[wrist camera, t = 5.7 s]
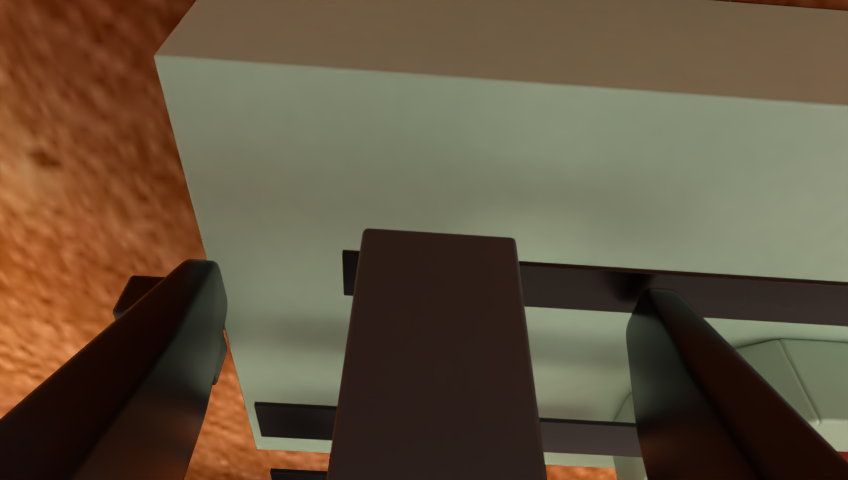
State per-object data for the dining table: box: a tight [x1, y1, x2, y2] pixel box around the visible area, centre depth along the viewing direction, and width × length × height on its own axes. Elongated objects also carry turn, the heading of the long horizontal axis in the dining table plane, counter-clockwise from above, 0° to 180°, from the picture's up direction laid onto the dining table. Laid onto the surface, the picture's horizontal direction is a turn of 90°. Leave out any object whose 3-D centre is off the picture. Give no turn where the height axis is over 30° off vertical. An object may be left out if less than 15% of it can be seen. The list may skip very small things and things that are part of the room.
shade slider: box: [327, 228, 547, 480], centre depth 7 cm, size 2×3×4 cm
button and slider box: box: [154, 0, 848, 480], centre depth 14 cm, size 16×12×6 cm
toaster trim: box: [113, 250, 848, 480], centre depth 12 cm, size 13×8×2 cm, turn 86°
